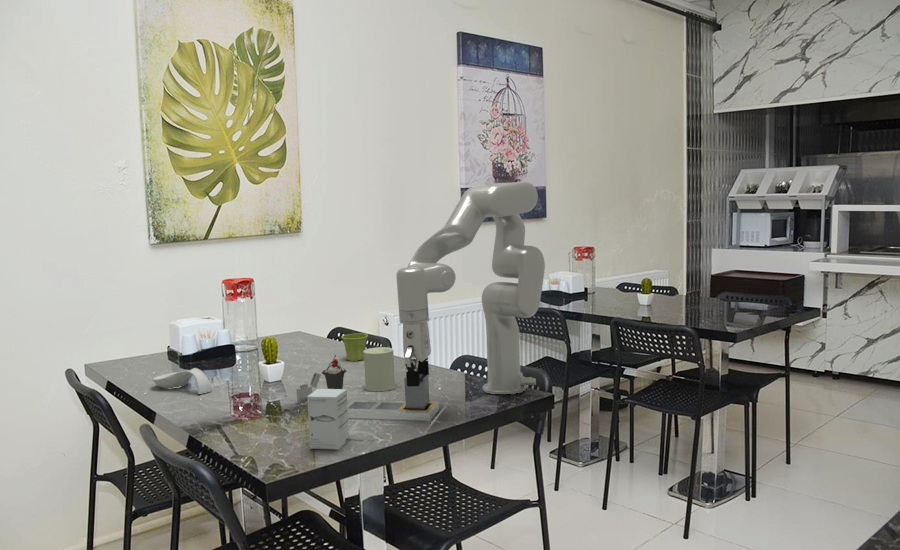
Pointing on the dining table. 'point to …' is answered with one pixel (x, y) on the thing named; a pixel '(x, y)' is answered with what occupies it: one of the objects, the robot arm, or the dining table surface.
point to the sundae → (334, 375)
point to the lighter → (307, 389)
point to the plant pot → (355, 346)
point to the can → (379, 369)
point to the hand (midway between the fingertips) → (418, 380)
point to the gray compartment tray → (389, 410)
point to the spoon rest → (184, 380)
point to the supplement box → (328, 418)
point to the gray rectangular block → (417, 394)
